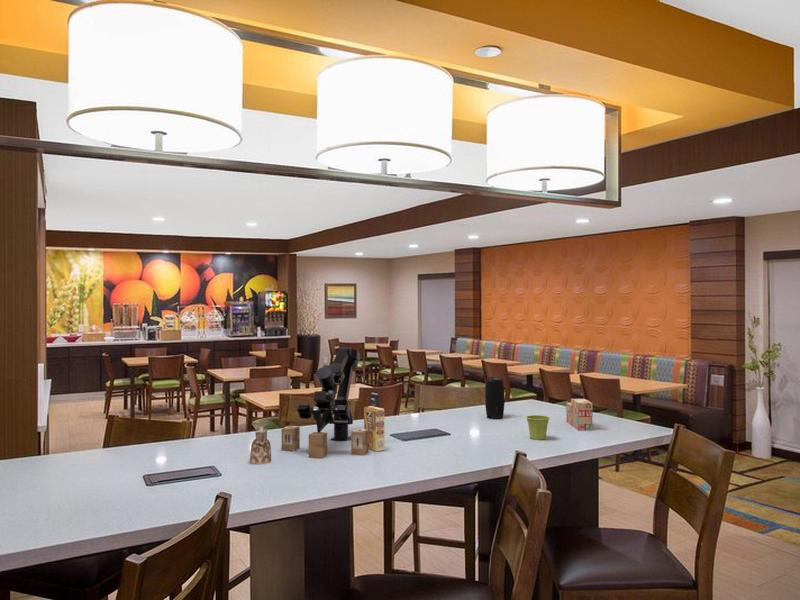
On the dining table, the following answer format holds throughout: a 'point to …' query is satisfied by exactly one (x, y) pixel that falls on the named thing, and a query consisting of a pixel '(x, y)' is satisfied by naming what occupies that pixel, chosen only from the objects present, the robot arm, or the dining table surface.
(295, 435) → the tile block
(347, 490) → the dining table surface
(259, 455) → the figurine
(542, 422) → the plant pot
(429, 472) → the dining table surface
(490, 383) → the portable speaker
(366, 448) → the tile block
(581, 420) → the patterned cardboard box
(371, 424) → the candy box
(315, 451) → the plain block
